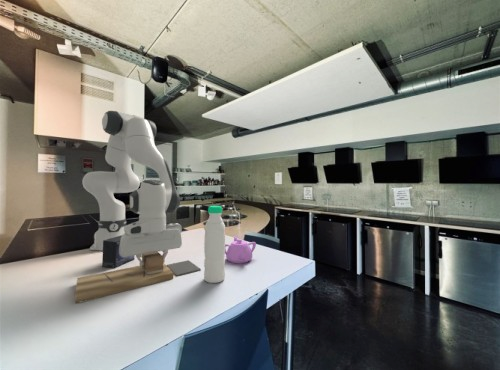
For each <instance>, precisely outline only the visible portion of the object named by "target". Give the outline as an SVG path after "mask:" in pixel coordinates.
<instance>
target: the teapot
mask: <svg viewBox="0 0 500 370" xmlns="http://www.w3.org/2000/svg"><path fill="white" fill-rule="evenodd" d="M233 238H234V239H233V241H232V242H231V243H230V244H229V243H228V244H227V243H225V258H226V259H227V260H228V262H229V263H232V264H246V263H249V262H250V261H251V260H252V259H253V252H254V251H255V249H256V246H257V243H256V242H255V241H252V242H247V241H245V240H243V239H241V238H238V237H237V235H234V236H233ZM250 245H252V247H250ZM226 247H228V248H227V250H226ZM248 261H249V262H248Z"/></svg>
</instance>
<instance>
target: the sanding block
mask: <svg viewBox="0 0 500 370" xmlns="http://www.w3.org/2000/svg"><path fill="white" fill-rule="evenodd" d="M162 255H163V254H161V253H160V251H158V252H152V253H146V254H142V257H141V260H144V261H145V266H144V267H142V268H143V269H144V271H145V272H146V274H147V275H150V274H154V273H159V272H163V256H162Z"/></svg>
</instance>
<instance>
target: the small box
mask: <svg viewBox="0 0 500 370" xmlns="http://www.w3.org/2000/svg"><path fill="white" fill-rule="evenodd" d="M121 237H122V235H121V236H117V237H114V238H110V239H106V240H103V251H102V263H101V267H102V268H108V269H109V268H111V269H116V268H119V267H120V266H123V265H125V264H128V263H130V262H133V261H134V260H135V258H136V255H135V256H129V257H121V256H120V254H119V246H120V240H121Z"/></svg>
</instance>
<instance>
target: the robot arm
mask: <svg viewBox="0 0 500 370" xmlns="http://www.w3.org/2000/svg"><path fill="white" fill-rule="evenodd" d="M101 125H102V129H103V131H104V133H106V134H108V135H109V137H108V140H107V145H106V150H105V156H104V158H105V161H106V163H107V164H108V165H109V166H111V167H114V168H115V171H104V170H102V171H101V170H98V171H97V170H96V171H88V172H87V173H86V174H85V175H84V176H83V177H82V180H81V181H82V186H83V189H85V191H87V192H88V193H90V194H91V195H92V196H93V197H94V198H95V200H96V201H97V203H98V207H99V220H98V230H97V231H96V232H94V234H93V242H94V243H93V244H92V245H91V246H90V247H89V251H102V252H103V240H106V239H110V238H114V237H117V236H121V235H122V237H121V240H120V246H119V254H120V256H121V257H129V256H135V258H136V259H137V260H138V261H139V266H140V267H144V266H145V261H144V260H142V254H146V253H152V252H162V254H161V255H162V256H163V263H164V264H165V258H166V257H167V256H168V253H169V250H174V249H175V250H176V249H180V248H181V247H182V245H183V242H182V239H183V237H182V230H183V228H182V225H181V224H179V223H176V222H175V223H167V214H173V213H174V212H176V211H177V210H178V209H179V207H181V197H180V193H179V192H178V190H177V188H176V185H175V182H174V180H173V179H174V178H173V176H172V173H171V170H170V167H169V164H168V162H167V159H166V157H165V156H164V154H162V153H161V152H160V151H159V150H158V148H157V146H156V144H155V137H156V136H157V126H156V123H155V122H154V121H153V120H150V119H146V118H143V117H140V116H137V115H134V114H129V113H125V112H119V111H117V110H108V111H106V112H105V113H104V115H103V117H102V119H101ZM132 160H133V161H134V162H135V163H137V164H138V165H139V164H140V165H142V166H145V167H148V168H150V169H152V170H154V172H156V174H157V175H158V178H159V180H156V179H144V180H142V181H140V178H139V176H138V175H137V174H136V173H135V172H134V171H133V168H132ZM139 187H140V188H139ZM125 193H126V194H128V193H130V194H129V203H128V204H129V210H130V211H132V212H133V213H134V214H138V215H139V216H138V220H137V221H134V222H131V223H129V224H127V219H126V204H125V203H124V202H123V201H121V200H119V199H116V198H115V196H114V195H115V194H125Z"/></svg>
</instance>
